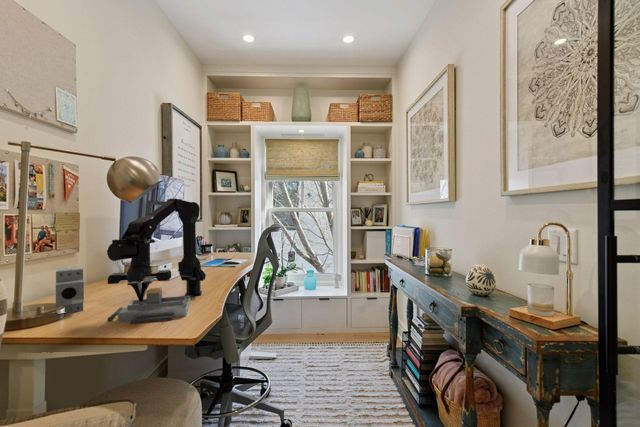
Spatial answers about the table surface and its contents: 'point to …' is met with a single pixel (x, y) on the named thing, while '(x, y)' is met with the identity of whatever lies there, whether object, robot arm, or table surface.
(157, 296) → the toggle
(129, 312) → the panel
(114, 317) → the dark grey rod
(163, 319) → the charcoal thin cylinder
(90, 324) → the table surface
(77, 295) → the circuit breaker
